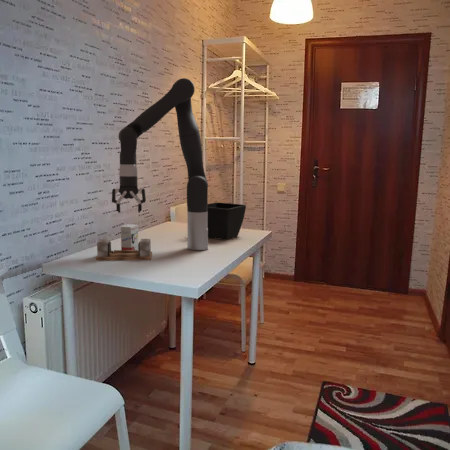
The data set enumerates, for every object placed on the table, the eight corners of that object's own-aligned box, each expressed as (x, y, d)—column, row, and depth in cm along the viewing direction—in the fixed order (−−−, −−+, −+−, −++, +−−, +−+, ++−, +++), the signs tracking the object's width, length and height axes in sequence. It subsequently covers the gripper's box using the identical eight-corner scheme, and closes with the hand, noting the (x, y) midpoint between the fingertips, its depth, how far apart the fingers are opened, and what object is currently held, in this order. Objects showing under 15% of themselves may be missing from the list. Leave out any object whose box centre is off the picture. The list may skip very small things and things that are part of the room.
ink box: (131, 254, 192) (130, 227, 190) (120, 253, 193) (120, 226, 191) (139, 249, 200) (138, 224, 198) (128, 249, 201) (128, 223, 199)
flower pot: (227, 241, 220) (228, 208, 218) (196, 237, 230) (196, 205, 227) (246, 236, 236) (247, 204, 234) (216, 232, 246) (216, 202, 243)
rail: (152, 254, 191) (151, 238, 190) (150, 259, 182) (150, 242, 180) (99, 255, 189) (99, 238, 188) (95, 260, 179) (95, 243, 178)
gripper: (145, 174, 195) (146, 211, 198) (112, 174, 194) (113, 211, 196) (144, 175, 188) (145, 213, 191) (110, 175, 187) (111, 213, 189)
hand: (129, 212), depth 194 cm, fingers open, 8 cm apart
